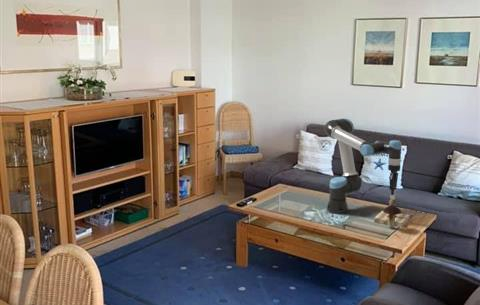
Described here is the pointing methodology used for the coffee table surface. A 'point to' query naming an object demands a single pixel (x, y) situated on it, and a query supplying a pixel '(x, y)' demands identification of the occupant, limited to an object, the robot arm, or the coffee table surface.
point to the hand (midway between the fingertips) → (392, 199)
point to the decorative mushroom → (392, 214)
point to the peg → (392, 202)
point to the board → (384, 217)
